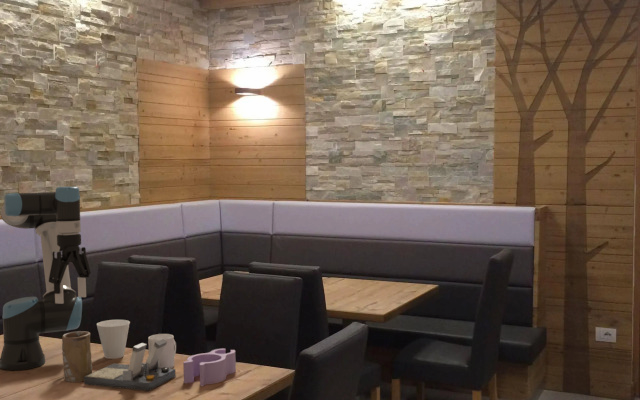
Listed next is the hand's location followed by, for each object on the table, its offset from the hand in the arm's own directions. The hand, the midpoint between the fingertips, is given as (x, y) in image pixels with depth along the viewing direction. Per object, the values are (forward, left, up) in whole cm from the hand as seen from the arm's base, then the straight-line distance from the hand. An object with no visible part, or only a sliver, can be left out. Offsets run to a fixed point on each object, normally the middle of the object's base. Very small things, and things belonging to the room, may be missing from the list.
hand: (71, 300), depth 243 cm
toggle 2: (+24, +8, -22) cm, 34 cm away
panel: (+20, +3, -26) cm, 33 cm away
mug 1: (0, 0, -26) cm, 26 cm away
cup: (-3, +27, -26) cm, 38 cm away
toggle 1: (+24, -1, -22) cm, 33 cm away
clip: (+44, +15, -26) cm, 53 cm away
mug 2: (+22, +21, -26) cm, 40 cm away
